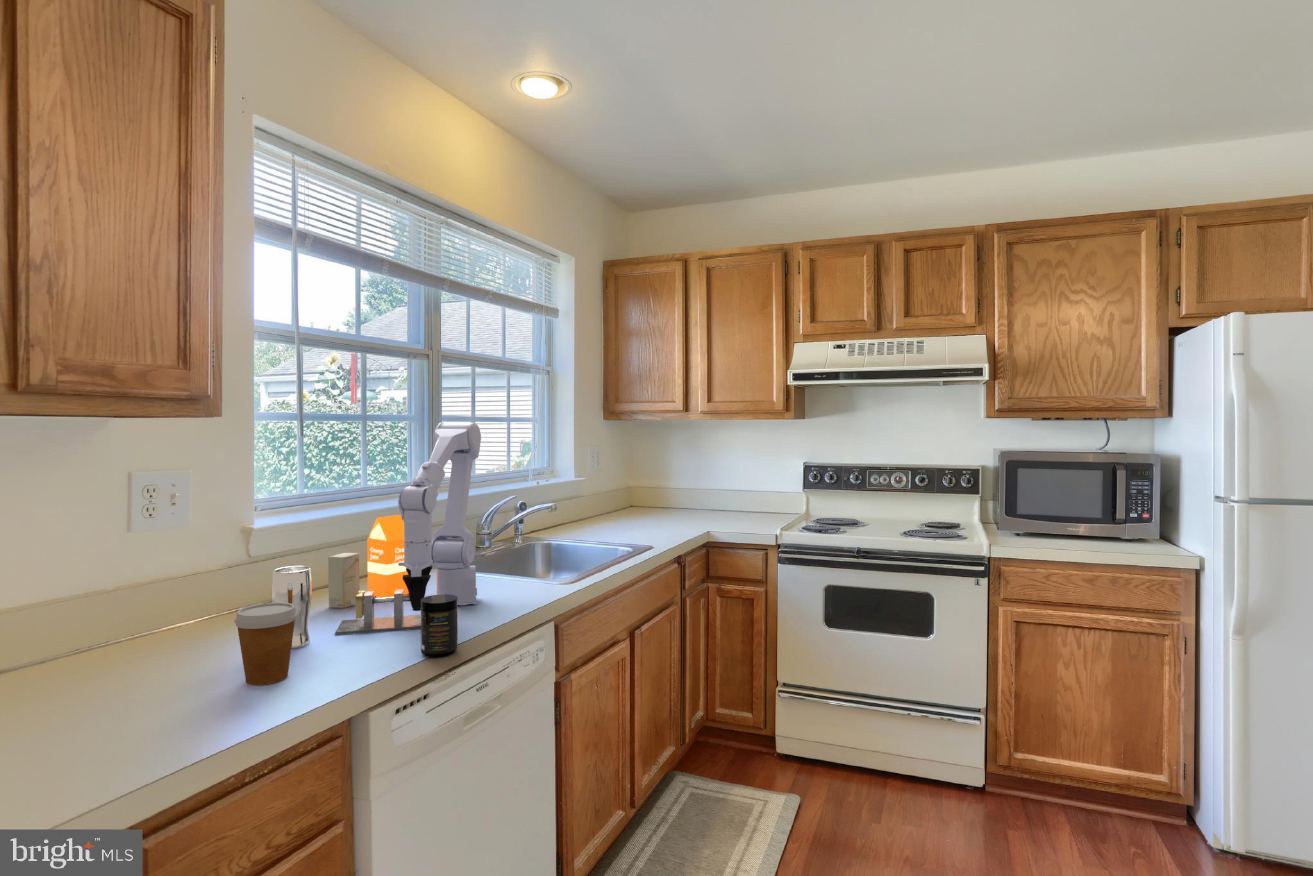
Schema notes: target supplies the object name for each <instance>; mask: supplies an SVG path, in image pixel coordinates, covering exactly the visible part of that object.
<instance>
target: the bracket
mask: <svg viewBox="0 0 1313 876" xmlns="http://www.w3.org/2000/svg"><path fill="white" fill-rule="evenodd" d="M402 596H404V595H403V589H398V590H395V593H394V602H393V616H386V617H385V616H384V617H382V616H381V617H375V604H373V598H375V596H374V591H368V590H365V594H364V615H363V618H357V619H356V618H355V619H343V620H341V622H340V624H339V625H338V627H337V629H336V630H335V632H334V636H339V635H340V636H341V635H343V636H344V635H354V634H353V633H356V634H367V633H379V632H381V631H383V632H392V631H407V630H406V629H409V630H421V614H414V615H413V614H412V615H404V602H402Z"/></svg>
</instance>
